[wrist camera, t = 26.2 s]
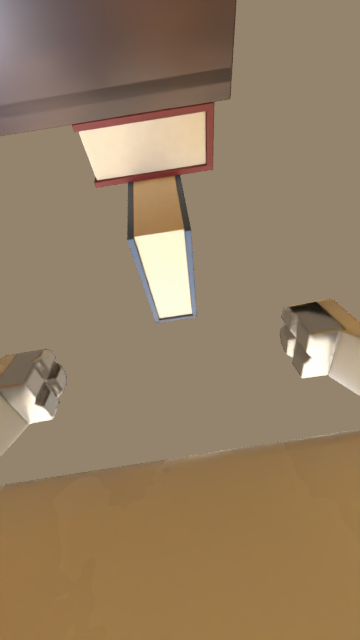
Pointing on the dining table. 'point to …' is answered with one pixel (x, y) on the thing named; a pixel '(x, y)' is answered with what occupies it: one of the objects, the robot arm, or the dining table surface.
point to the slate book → (162, 246)
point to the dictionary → (150, 144)
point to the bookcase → (110, 59)
